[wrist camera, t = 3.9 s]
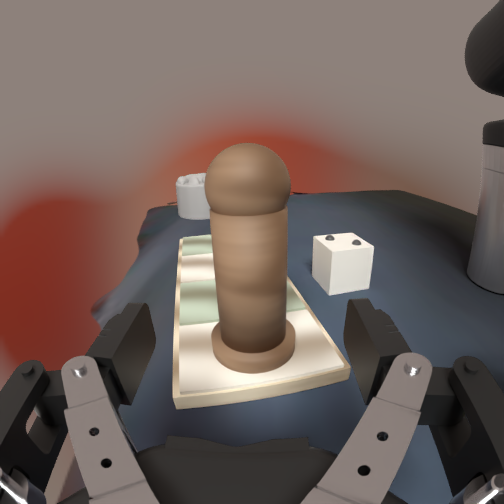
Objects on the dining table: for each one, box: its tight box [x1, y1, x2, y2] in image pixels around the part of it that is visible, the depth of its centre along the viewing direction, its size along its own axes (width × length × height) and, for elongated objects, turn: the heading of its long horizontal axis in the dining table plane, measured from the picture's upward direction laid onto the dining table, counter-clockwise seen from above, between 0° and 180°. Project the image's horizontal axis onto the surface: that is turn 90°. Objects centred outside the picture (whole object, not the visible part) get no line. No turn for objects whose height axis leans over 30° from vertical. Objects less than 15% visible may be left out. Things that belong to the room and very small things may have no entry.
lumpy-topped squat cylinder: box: [176, 173, 210, 219], centre depth 66 cm, size 10×13×9 cm
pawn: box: [204, 143, 296, 374], centre depth 19 cm, size 6×6×14 cm
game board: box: [173, 235, 351, 409], centre depth 33 cm, size 32×12×2 cm, turn 11°
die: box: [312, 233, 374, 295], centre depth 33 cm, size 5×5×6 cm
